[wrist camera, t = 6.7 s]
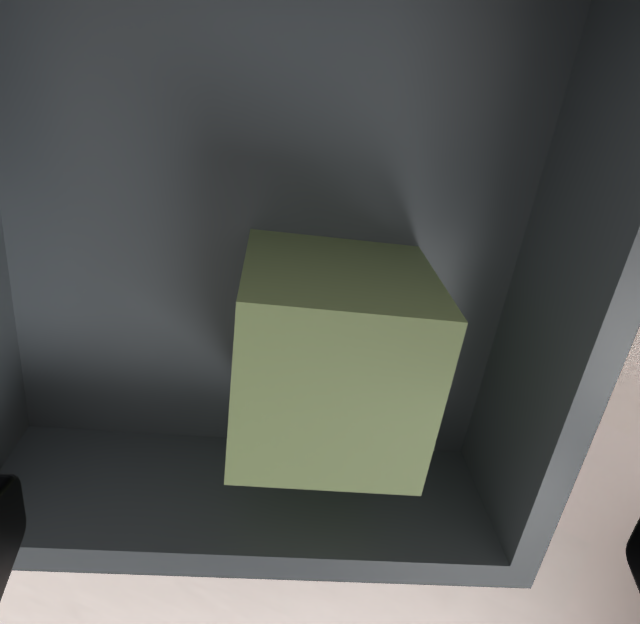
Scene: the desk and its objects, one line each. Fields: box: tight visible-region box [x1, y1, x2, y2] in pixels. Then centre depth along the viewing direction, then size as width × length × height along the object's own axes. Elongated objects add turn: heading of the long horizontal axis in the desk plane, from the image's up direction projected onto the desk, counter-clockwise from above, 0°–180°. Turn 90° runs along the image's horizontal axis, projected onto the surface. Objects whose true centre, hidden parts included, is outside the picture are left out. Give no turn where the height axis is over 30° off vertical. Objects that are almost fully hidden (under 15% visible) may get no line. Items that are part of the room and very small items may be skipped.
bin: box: [0, 0, 640, 588], centre depth 11 cm, size 13×13×4 cm
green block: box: [224, 229, 468, 496], centre depth 12 cm, size 4×4×4 cm
